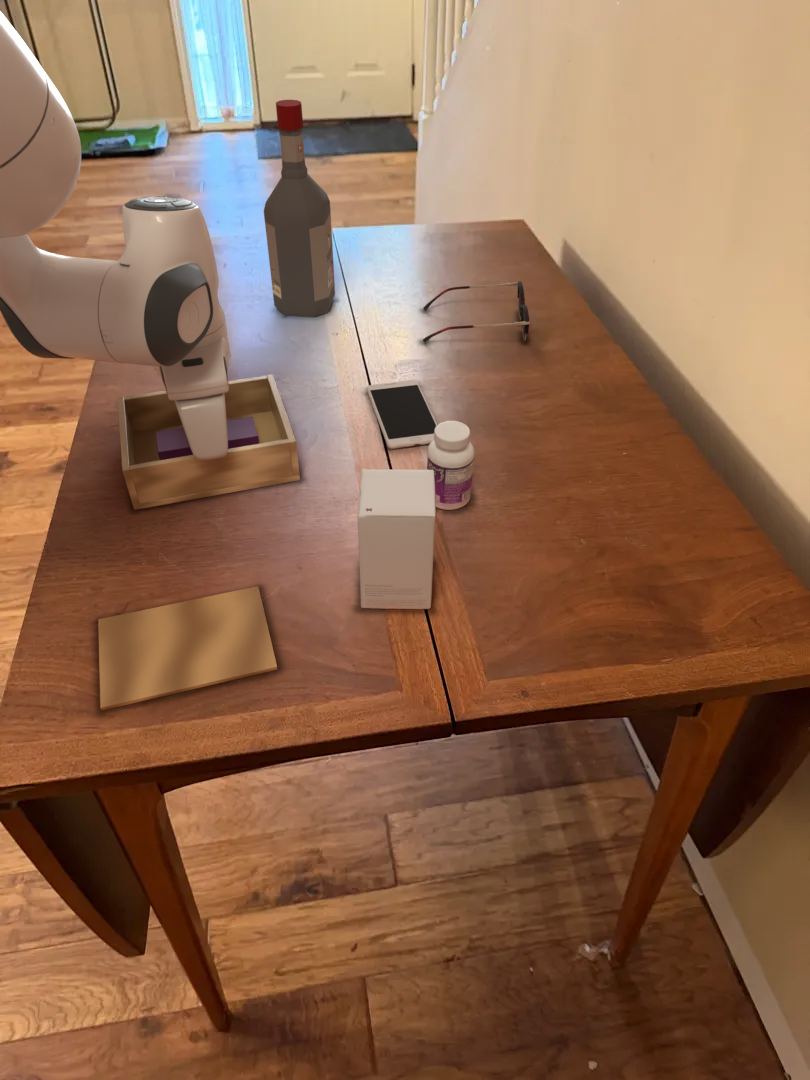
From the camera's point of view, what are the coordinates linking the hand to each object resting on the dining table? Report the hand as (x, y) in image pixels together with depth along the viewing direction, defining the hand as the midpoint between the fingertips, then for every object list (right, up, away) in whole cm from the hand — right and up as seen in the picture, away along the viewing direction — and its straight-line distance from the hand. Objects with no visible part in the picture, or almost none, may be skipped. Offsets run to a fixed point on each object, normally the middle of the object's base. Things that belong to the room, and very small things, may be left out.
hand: (209, 446), depth 97 cm
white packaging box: (+24, -17, -15) cm, 32 cm away
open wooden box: (0, -1, +1) cm, 2 cm away
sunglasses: (+35, +22, +27) cm, 50 cm away
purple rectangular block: (0, -1, +1) cm, 1 cm away
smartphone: (+24, +5, +8) cm, 26 cm away
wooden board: (+3, -22, -21) cm, 31 cm away
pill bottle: (+30, -7, -4) cm, 31 cm away
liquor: (+8, +27, +32) cm, 43 cm away
